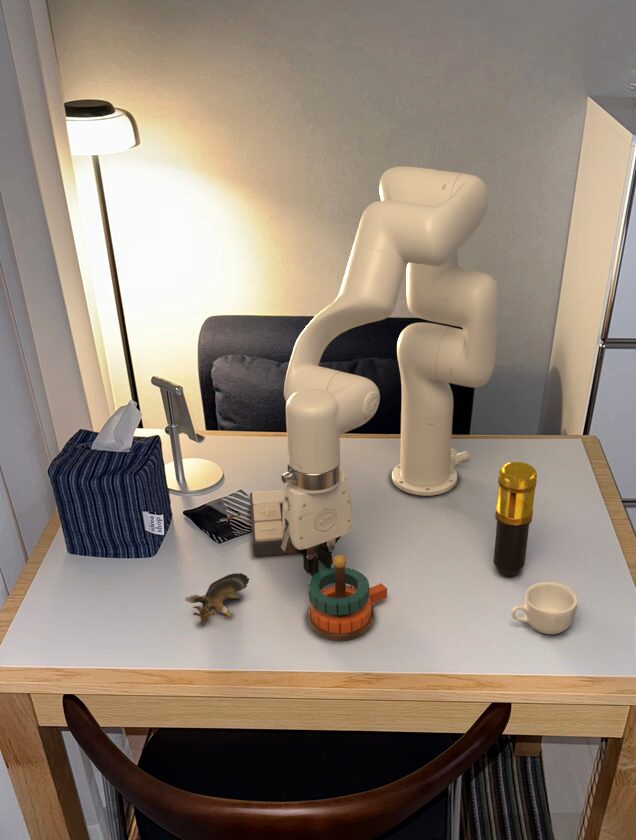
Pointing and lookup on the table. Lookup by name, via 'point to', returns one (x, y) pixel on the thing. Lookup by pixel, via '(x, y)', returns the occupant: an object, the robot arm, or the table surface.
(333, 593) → the orange ring
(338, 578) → the peg stand
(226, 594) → the eagle figurine
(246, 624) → the table surface
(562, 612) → the teacup
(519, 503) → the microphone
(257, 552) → the calculator
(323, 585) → the teal ring
